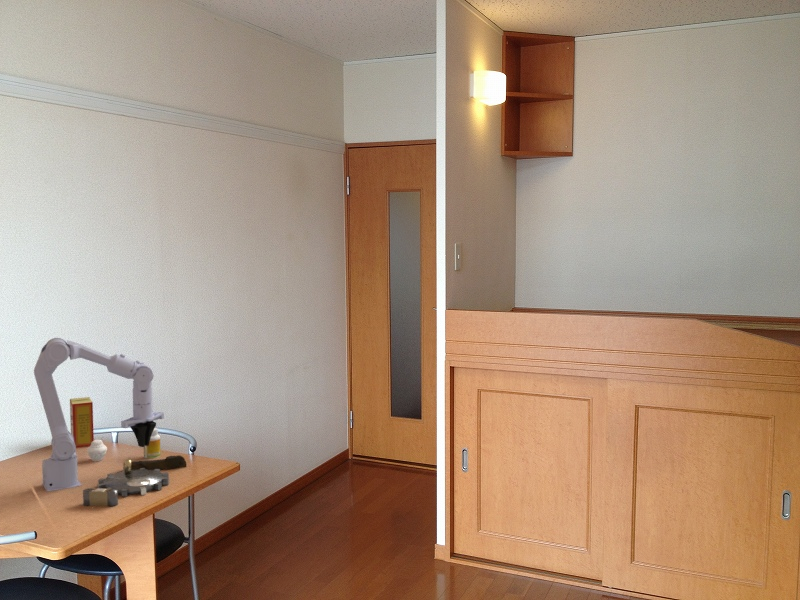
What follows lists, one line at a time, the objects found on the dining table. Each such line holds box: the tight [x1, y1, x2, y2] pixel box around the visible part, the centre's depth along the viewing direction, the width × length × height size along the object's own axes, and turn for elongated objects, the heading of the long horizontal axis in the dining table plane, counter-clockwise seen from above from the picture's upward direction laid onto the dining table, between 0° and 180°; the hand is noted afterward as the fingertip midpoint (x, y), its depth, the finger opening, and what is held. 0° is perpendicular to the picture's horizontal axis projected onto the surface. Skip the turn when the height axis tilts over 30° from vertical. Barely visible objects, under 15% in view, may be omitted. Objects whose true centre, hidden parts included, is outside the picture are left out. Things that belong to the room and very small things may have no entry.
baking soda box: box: [69, 396, 95, 449], centre depth 265 cm, size 10×6×16 cm
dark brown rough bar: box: [122, 455, 187, 471], centre depth 236 cm, size 19×4×5 cm, turn 104°
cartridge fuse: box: [82, 487, 119, 508], centre depth 206 cm, size 10×3×5 cm, turn 88°
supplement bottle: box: [143, 427, 162, 459], centre depth 250 cm, size 5×5×10 cm
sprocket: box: [97, 458, 170, 498], centre depth 221 cm, size 20×20×6 cm
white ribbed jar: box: [86, 439, 108, 462], centre depth 247 cm, size 6×6×7 cm
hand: (143, 445), depth 231 cm, fingers closed
